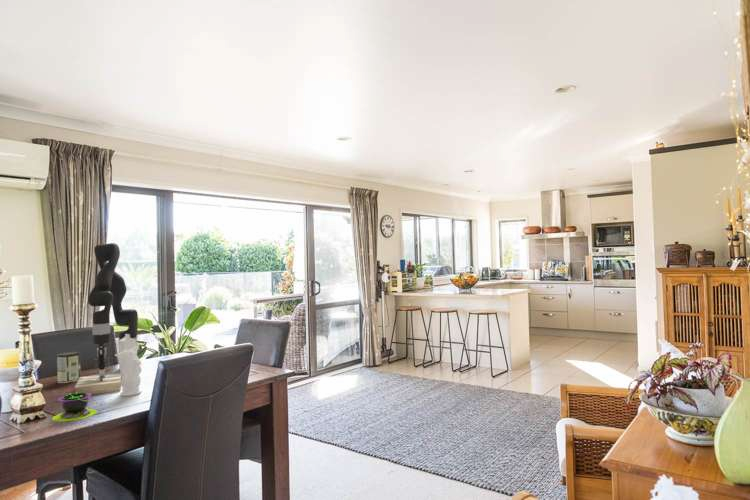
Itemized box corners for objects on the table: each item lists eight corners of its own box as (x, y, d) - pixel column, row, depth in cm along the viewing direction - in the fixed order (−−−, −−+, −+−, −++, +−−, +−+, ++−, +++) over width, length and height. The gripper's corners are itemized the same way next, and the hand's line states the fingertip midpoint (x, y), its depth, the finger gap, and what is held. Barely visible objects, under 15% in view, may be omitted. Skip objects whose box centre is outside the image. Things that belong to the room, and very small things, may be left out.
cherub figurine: (130, 397, 210) (129, 347, 210) (106, 397, 213) (104, 347, 213) (149, 390, 222) (147, 342, 222) (125, 389, 225) (124, 342, 225)
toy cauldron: (103, 414, 188) (102, 385, 188) (59, 424, 176) (58, 394, 177) (89, 407, 198) (89, 380, 198) (46, 416, 186) (46, 388, 187)
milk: (124, 378, 249) (123, 335, 249) (119, 376, 253) (118, 334, 253) (136, 375, 253) (135, 333, 253) (132, 374, 257) (131, 332, 258)
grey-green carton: (67, 378, 252) (66, 351, 253) (85, 378, 251) (85, 351, 252) (52, 383, 242) (51, 355, 243) (71, 383, 241) (70, 354, 242)
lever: (95, 377, 232) (94, 358, 233) (109, 375, 235) (109, 357, 235) (93, 381, 224) (93, 362, 224) (108, 379, 227) (108, 360, 227)
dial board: (79, 385, 236) (79, 376, 236) (121, 380, 244) (121, 371, 244) (74, 396, 215) (74, 387, 215) (120, 390, 223) (120, 381, 223)
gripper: (93, 332, 238) (94, 367, 237) (91, 335, 225) (91, 372, 225) (110, 330, 241) (111, 365, 241) (109, 333, 229) (110, 370, 228)
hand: (102, 368), depth 233 cm, fingers closed on lever, 2 cm apart
